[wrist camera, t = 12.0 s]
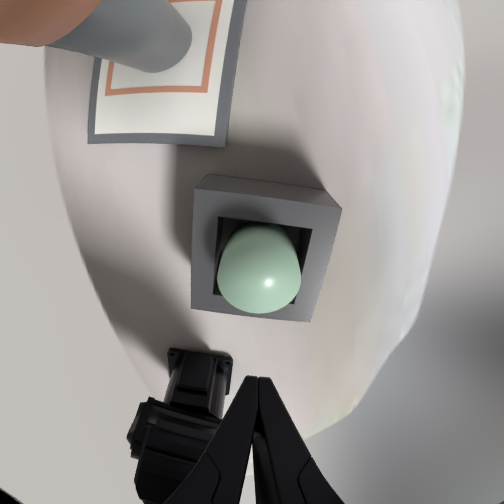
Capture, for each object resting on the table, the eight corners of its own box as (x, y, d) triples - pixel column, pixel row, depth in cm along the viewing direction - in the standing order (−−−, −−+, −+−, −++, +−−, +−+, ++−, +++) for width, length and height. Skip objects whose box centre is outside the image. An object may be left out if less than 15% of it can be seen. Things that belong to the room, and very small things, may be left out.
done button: (287, 287, 18) (291, 317, 15) (221, 279, 18) (215, 308, 15) (301, 226, 16) (309, 248, 13) (227, 216, 16) (220, 237, 13)
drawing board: (225, 146, 17) (223, 147, 16) (94, 142, 16) (86, 144, 16) (253, -32, 10) (252, -38, 9) (120, -20, 10) (115, -24, 9)
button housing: (303, 289, 21) (309, 322, 18) (201, 276, 21) (190, 308, 18) (326, 190, 18) (342, 209, 14) (208, 174, 18) (194, 188, 14)
